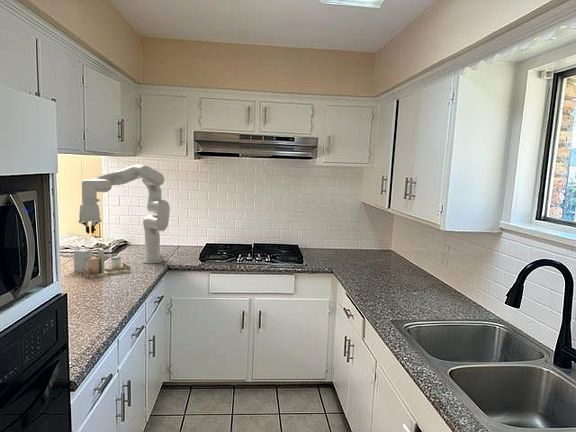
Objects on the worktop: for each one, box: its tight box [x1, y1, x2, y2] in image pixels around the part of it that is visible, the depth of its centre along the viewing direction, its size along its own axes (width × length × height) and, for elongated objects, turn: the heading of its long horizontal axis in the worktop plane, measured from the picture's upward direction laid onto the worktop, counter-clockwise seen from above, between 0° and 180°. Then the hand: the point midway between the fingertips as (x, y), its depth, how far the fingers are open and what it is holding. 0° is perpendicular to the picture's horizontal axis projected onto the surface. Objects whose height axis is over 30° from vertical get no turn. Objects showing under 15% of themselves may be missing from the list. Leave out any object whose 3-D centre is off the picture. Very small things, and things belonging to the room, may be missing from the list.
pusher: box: [97, 247, 109, 273], centre depth 241 cm, size 3×8×15 cm, turn 40°
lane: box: [82, 262, 131, 279], centre depth 243 cm, size 24×11×4 cm, turn 130°
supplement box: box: [73, 248, 93, 273], centre depth 247 cm, size 7×7×13 cm
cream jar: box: [110, 255, 122, 268], centre depth 256 cm, size 6×6×7 cm
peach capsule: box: [88, 256, 100, 275], centre depth 238 cm, size 6×6×10 cm
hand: (90, 232), depth 235 cm, fingers closed
